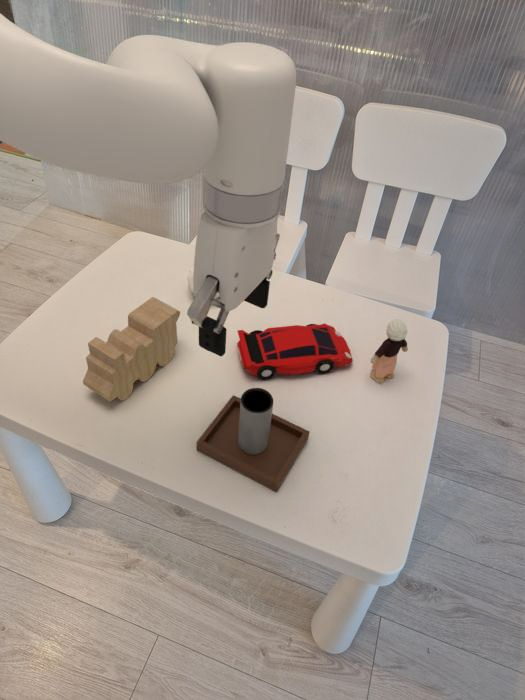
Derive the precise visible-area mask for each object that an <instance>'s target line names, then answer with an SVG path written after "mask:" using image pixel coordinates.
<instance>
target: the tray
mask: <svg viewBox="0 0 525 700" xmlns="http://www.w3.org/2000/svg"><path fill="white" fill-rule="evenodd" d="M240 402H241V397H238V396H236V395H234V394H233V395H232V396H231V398H230V399H229V400H228V401H227V403H226V404H224V406H223V408H222V409H221V410H220V412H219V413H217V415H216V417H214V419H213V420H212V422H211V423H210V424H209V426H208V427H207V428H206V430H205V431H204V432H203V433H202V434H201V436H200V437H199V438H198V440H197V441H196V443H195V445H196V451H197V452H200V454H201V453H202V454H203V455H204V456H207V457H209V458H210V459H213V460H214V461H216V462H217V463H220V464H222V465H224V466H226V467H228V468H229V469H232V470H233V471H235V472H238V473H239V474H240V475H243V476H244V477H247V478H249V479H250V480H252V481H253V482H256V483H258V484H260V485H262V486H263V487H265V488H267V489H270V490H271V491H273V492H275V493H278V492H279V489H280V488H281V486H282V484H283V483H284V481H285V479H286V477H288V474H289V473H290V470H291V469H292V467H293V466H294V464H295V463H296V460H297V459H298V457H299V455H300V454H301V453H302V450H303V449H304V447H305V446H306V444H307V442H308V441H309V437H310V433H311V431H310V430H307V429H305V428H303V427H301V426H299V425H298V424H295V423H293V422H291V421H289V420H287V419H284V418H283V417H281V416H278V415H276V414H274V413H272V417H271V424H270V432H269V439H268V445H267V448H266V449H265V451H263V452H262V453H260V454H257V455H250V454H247V453H245V452H243V451H242V450H241V449H240V447H239V445H238V433H239V418H240Z"/></svg>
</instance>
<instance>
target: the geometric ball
mask: <svg viewBox="0 0 525 700" xmlns="http://www.w3.org/2000/svg"><path fill="white" fill-rule="evenodd" d="M187 274H188V275H187V286H188V289H189V290H190V291H191V293H193V274H194V264H193V265H192V266H191V267H190V269H189V271H188V273H187ZM218 298H220V296H219V293H218V292H217V294H216V295H215V297H214V299H218Z"/></svg>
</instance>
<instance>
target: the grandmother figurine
mask: <svg viewBox="0 0 525 700" xmlns="http://www.w3.org/2000/svg"><path fill="white" fill-rule="evenodd" d="M407 334H408V328H407V324H406V323H405V322H404V320H401V319H395V320H391V321H390V322H389V323H388V324H387V326H386V336H387V338H386V339H385V340H383V342H382V343H381V344H380V346H379V347H378V348H377V350H376V351H375V352H374V354H373V356H372V357H371V358H370V363H371V364H372V366H371V368H372V370H373V371H372V372H371V373H370V374H369V376H370V378H371V379H372V380H373V381H374V382H376V383H377V384H383V383H385V381H386V379H385V378H387V379H393V378H394V377H395V369H396V366H397V362H398V361H397V360H398V354H399V353H400V351H402V352H403V353H407V352H408V350H409V347H408V342H407V340H406V338H407Z"/></svg>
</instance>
